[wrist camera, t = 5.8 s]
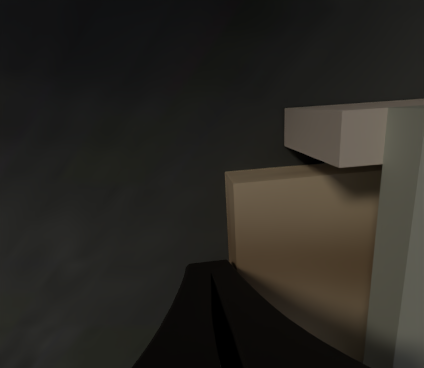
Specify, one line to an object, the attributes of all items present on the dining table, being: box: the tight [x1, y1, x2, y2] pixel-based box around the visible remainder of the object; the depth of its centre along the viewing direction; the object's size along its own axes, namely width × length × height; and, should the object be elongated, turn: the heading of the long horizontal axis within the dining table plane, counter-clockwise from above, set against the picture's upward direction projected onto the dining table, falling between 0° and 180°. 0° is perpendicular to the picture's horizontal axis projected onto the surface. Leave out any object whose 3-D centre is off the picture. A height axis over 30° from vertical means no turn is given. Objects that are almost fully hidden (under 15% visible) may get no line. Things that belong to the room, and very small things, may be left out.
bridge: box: [284, 99, 424, 368], centre depth 9 cm, size 11×7×4 cm, turn 4°
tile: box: [225, 163, 383, 362], centre depth 10 cm, size 7×8×2 cm
